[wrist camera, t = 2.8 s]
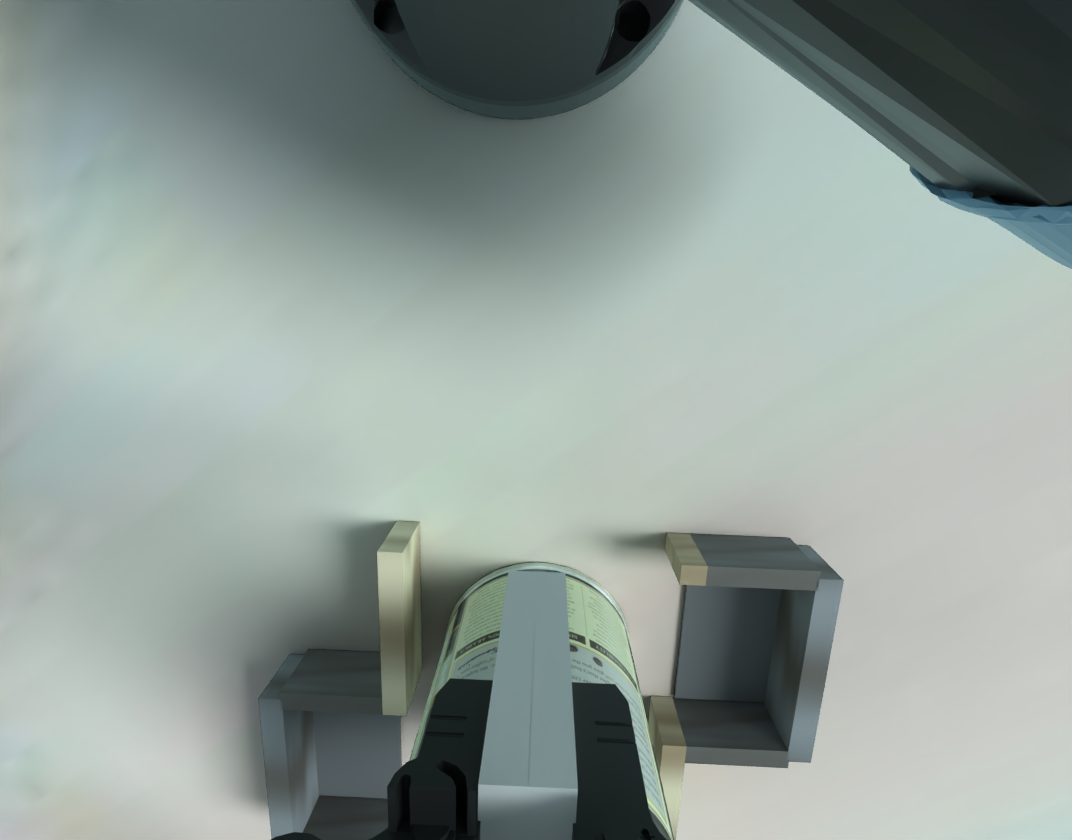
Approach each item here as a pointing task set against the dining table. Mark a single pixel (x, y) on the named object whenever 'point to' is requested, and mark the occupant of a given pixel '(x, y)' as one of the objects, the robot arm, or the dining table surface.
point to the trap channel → (673, 722)
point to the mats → (702, 673)
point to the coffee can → (592, 654)
